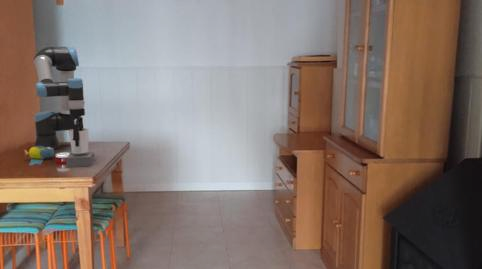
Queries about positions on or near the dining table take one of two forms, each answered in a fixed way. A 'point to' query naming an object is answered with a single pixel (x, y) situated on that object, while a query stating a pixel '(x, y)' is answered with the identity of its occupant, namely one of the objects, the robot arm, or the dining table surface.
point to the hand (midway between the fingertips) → (80, 150)
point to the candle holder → (82, 139)
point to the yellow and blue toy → (39, 154)
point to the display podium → (80, 159)
